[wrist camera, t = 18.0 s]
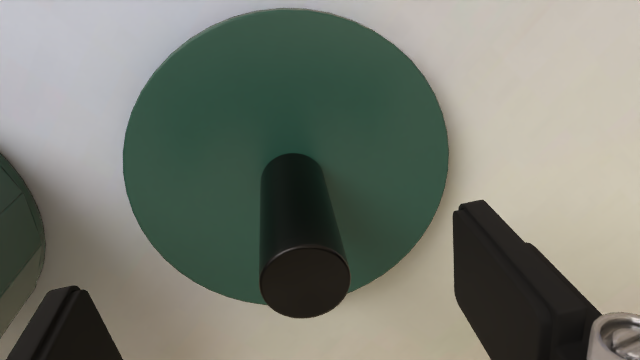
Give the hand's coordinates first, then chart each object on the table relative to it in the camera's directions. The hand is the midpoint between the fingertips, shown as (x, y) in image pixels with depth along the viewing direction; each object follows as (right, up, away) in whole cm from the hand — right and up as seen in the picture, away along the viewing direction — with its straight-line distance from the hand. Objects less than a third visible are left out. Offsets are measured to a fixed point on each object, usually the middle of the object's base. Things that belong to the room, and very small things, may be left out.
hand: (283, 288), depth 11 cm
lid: (0, +3, +6) cm, 7 cm away
